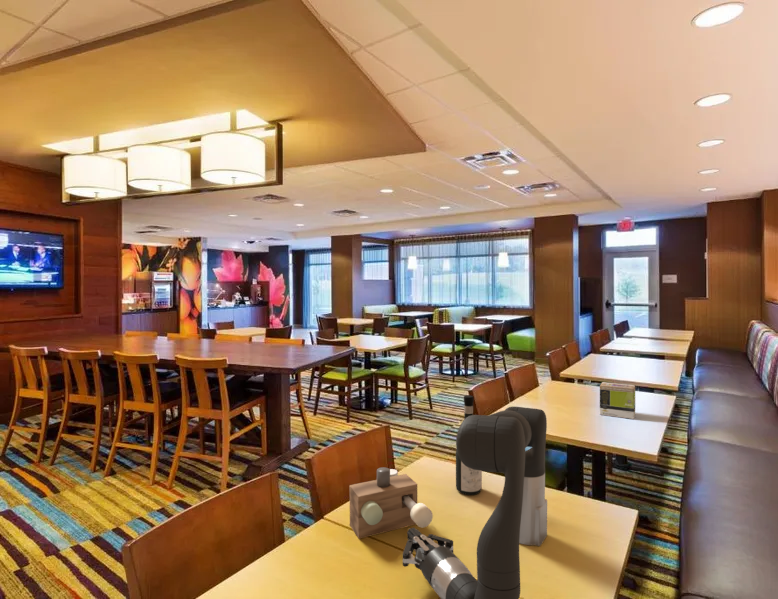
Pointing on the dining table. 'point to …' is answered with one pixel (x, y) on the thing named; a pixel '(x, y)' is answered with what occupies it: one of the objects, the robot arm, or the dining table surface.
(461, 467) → the wine bottle
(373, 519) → the knob sage
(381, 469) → the dark grey cylinder
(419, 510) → the knob cream
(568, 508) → the dining table surface
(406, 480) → the brown wooden block
